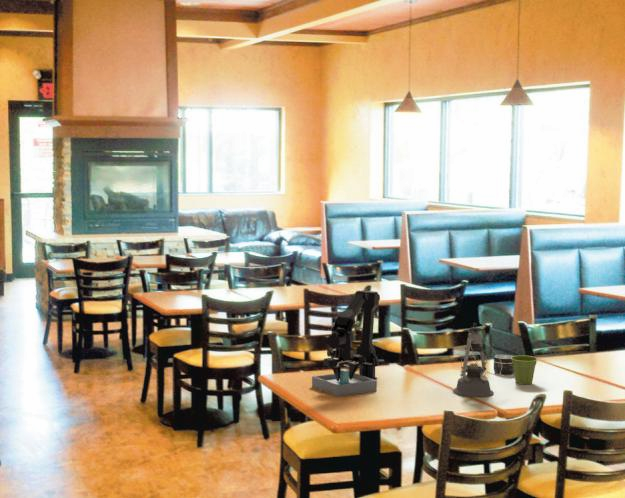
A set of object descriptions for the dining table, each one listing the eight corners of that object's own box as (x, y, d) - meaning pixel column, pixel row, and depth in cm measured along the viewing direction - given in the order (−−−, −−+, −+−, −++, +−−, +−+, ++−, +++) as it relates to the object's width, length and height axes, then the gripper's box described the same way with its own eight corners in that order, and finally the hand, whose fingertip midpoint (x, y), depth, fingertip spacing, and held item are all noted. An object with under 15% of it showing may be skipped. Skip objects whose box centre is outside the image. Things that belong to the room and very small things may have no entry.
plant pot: (510, 379, 441) (510, 354, 440) (536, 380, 439) (537, 356, 438) (509, 385, 430) (510, 360, 428) (537, 386, 427) (538, 361, 426)
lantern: (496, 400, 403) (498, 328, 400) (448, 395, 410) (450, 325, 407) (503, 390, 419) (505, 321, 417) (457, 386, 426) (459, 318, 424)
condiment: (366, 366, 465) (366, 341, 464) (351, 368, 461) (352, 343, 459) (357, 363, 471) (357, 339, 470) (343, 365, 467) (343, 340, 465)
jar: (518, 372, 456) (518, 356, 456) (510, 376, 448) (511, 359, 447) (498, 369, 462) (498, 353, 461) (490, 373, 453) (490, 357, 452)
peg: (345, 387, 422) (345, 369, 422) (350, 389, 419) (350, 370, 418) (337, 388, 420) (337, 370, 420) (342, 390, 417) (343, 371, 416)
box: (350, 381, 433) (350, 371, 433) (376, 390, 416) (376, 380, 416) (312, 386, 423) (312, 376, 422) (337, 396, 406) (337, 385, 406)
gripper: (352, 339, 430) (351, 374, 431) (316, 343, 420) (315, 379, 421) (366, 343, 420) (366, 379, 422) (330, 348, 410) (329, 384, 412)
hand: (344, 380), depth 419 cm, fingers open, 6 cm apart
